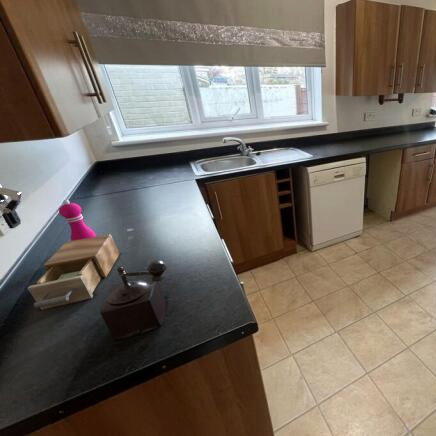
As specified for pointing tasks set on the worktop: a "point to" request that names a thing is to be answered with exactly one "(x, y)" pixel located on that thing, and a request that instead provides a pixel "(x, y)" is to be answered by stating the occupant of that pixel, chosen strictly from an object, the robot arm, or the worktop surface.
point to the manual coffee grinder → (135, 303)
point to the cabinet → (87, 253)
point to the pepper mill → (75, 221)
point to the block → (69, 275)
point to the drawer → (66, 284)
